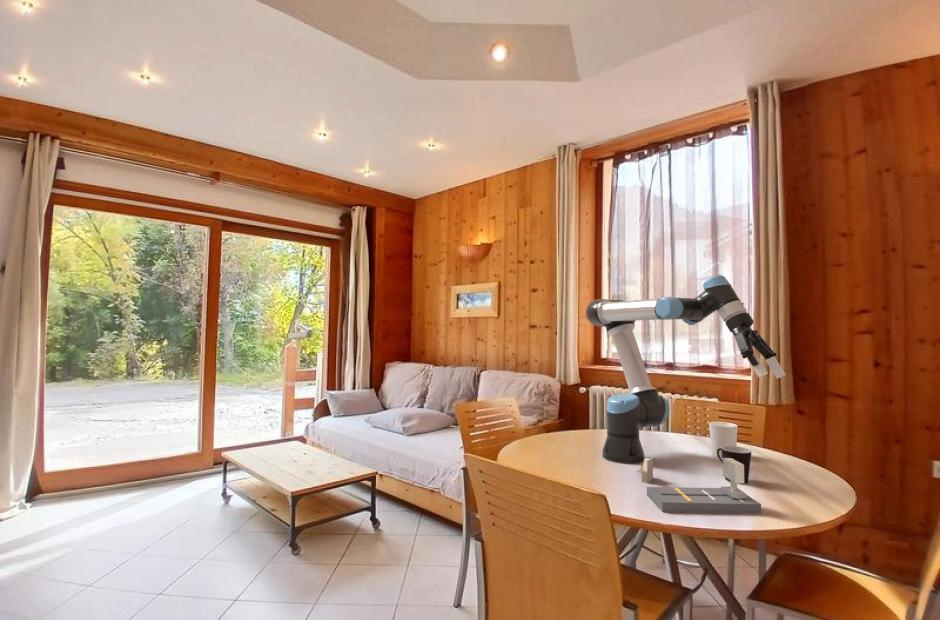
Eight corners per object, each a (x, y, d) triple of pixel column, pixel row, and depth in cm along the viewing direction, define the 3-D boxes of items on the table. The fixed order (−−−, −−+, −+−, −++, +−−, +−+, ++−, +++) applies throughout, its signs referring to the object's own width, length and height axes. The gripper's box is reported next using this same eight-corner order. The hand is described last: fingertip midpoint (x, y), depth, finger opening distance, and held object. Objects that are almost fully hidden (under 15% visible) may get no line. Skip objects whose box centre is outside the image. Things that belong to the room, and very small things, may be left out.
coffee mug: (756, 485, 144) (756, 453, 144) (726, 483, 146) (726, 452, 146) (742, 474, 156) (742, 444, 156) (714, 472, 157) (714, 443, 158)
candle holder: (743, 459, 174) (743, 427, 174) (717, 458, 174) (717, 426, 174) (729, 452, 184) (728, 421, 184) (704, 451, 184) (704, 421, 184)
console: (662, 511, 124) (662, 501, 124) (646, 495, 136) (646, 486, 136) (761, 513, 123) (761, 503, 123) (736, 497, 135) (736, 488, 135)
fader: (732, 498, 126) (732, 464, 126) (720, 490, 132) (720, 458, 132) (747, 498, 126) (746, 464, 126) (734, 490, 132) (734, 458, 132)
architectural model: (636, 482, 148) (636, 459, 149) (643, 477, 154) (643, 454, 154) (647, 484, 146) (647, 461, 146) (654, 479, 152) (653, 456, 152)
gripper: (729, 306, 141) (767, 369, 131) (763, 315, 156) (800, 372, 146) (707, 319, 146) (743, 380, 136) (742, 326, 161) (776, 382, 151)
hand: (772, 376), depth 141 cm, fingers open, 13 cm apart
